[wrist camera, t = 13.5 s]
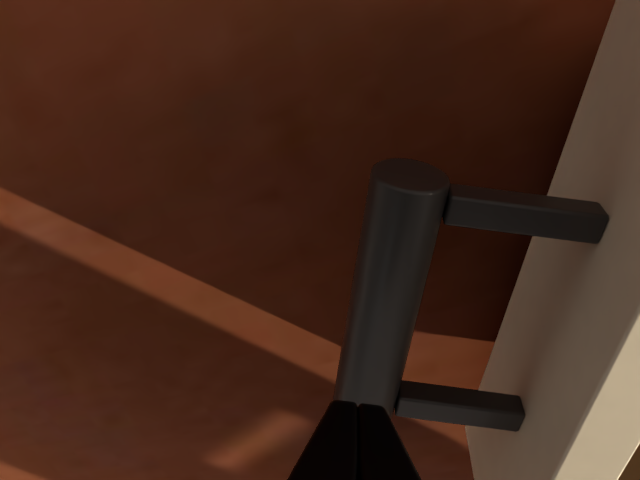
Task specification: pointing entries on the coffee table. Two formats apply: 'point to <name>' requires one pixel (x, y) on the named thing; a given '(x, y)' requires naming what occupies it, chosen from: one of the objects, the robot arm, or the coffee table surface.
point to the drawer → (523, 293)
